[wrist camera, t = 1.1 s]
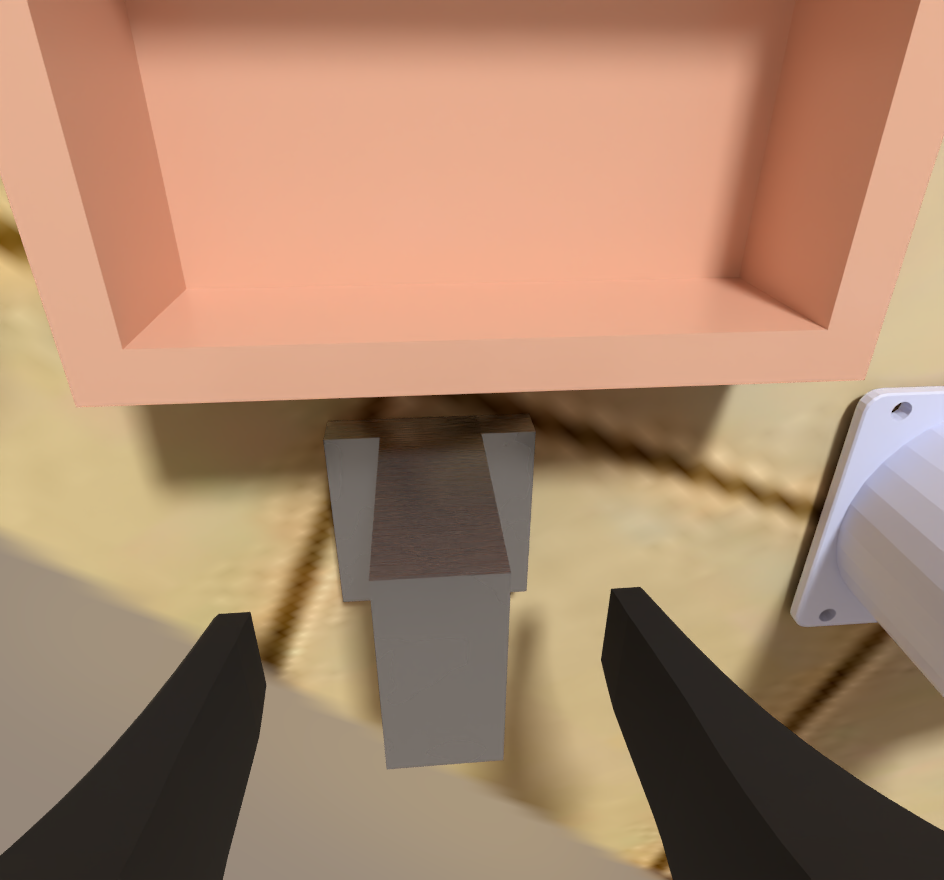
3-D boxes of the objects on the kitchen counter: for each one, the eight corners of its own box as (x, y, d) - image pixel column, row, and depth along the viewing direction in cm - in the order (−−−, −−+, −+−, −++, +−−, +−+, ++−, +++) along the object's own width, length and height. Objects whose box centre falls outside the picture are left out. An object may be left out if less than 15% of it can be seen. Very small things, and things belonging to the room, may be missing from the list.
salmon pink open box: (895, -279, 11) (1134, -453, 7) (761, 312, 16) (864, 380, 12) (-3, -323, 10) (-238, -555, 6) (155, 328, 14) (76, 407, 11)
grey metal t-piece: (528, 413, 16) (585, 568, 11) (521, 567, 19) (564, 755, 14) (327, 420, 16) (289, 585, 11) (346, 577, 18) (322, 774, 13)
